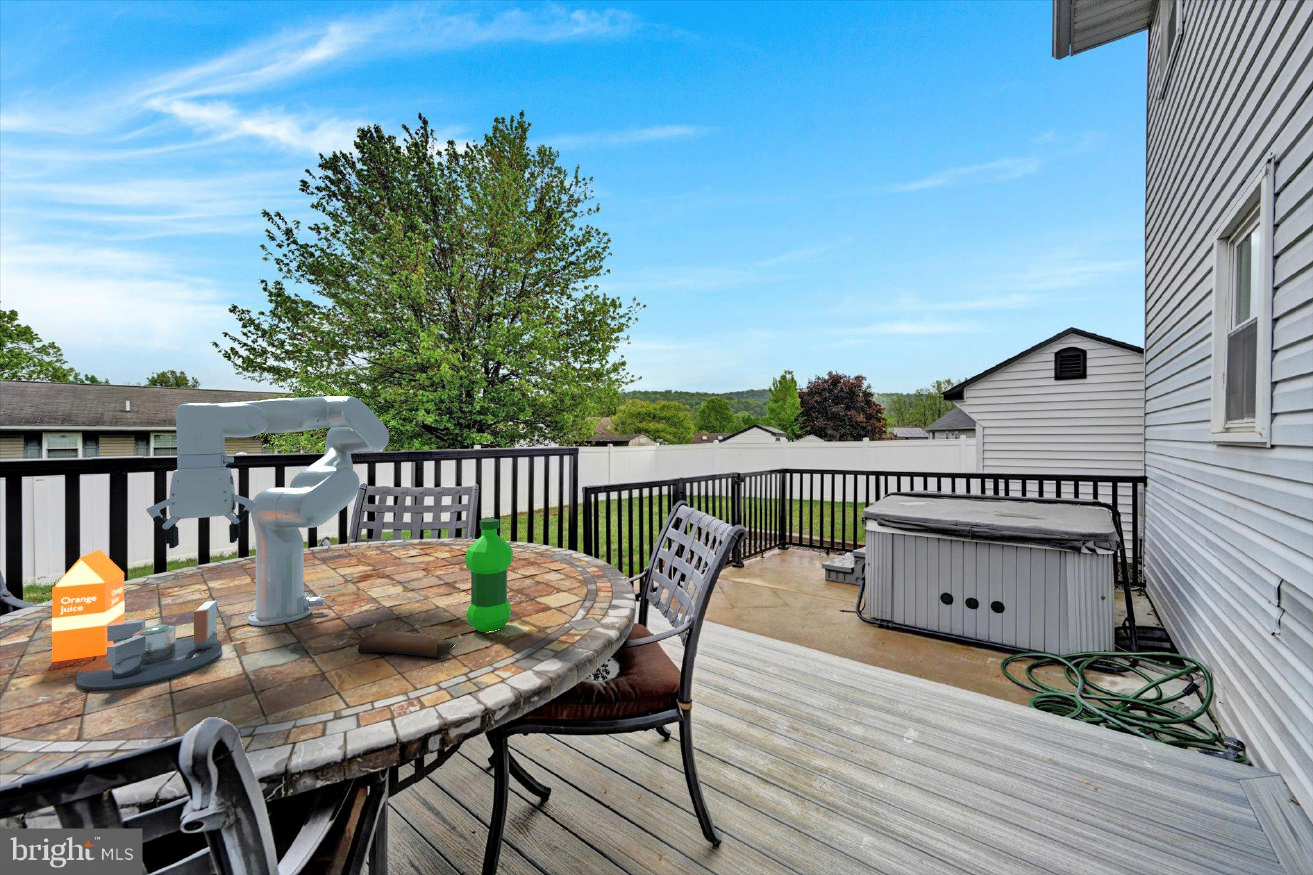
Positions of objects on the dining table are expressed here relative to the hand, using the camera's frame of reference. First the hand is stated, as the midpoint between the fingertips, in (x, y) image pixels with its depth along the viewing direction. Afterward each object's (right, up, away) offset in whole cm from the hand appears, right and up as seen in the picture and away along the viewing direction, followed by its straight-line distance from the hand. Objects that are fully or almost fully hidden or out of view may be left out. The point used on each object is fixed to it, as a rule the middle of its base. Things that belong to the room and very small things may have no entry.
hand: (204, 544), depth 109 cm
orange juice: (-22, -22, -2) cm, 31 cm away
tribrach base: (-2, -22, -9) cm, 23 cm away
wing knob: (+3, -20, -3) cm, 20 cm away
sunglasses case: (+43, -22, -1) cm, 49 cm away
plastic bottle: (+56, -22, +11) cm, 61 cm away
